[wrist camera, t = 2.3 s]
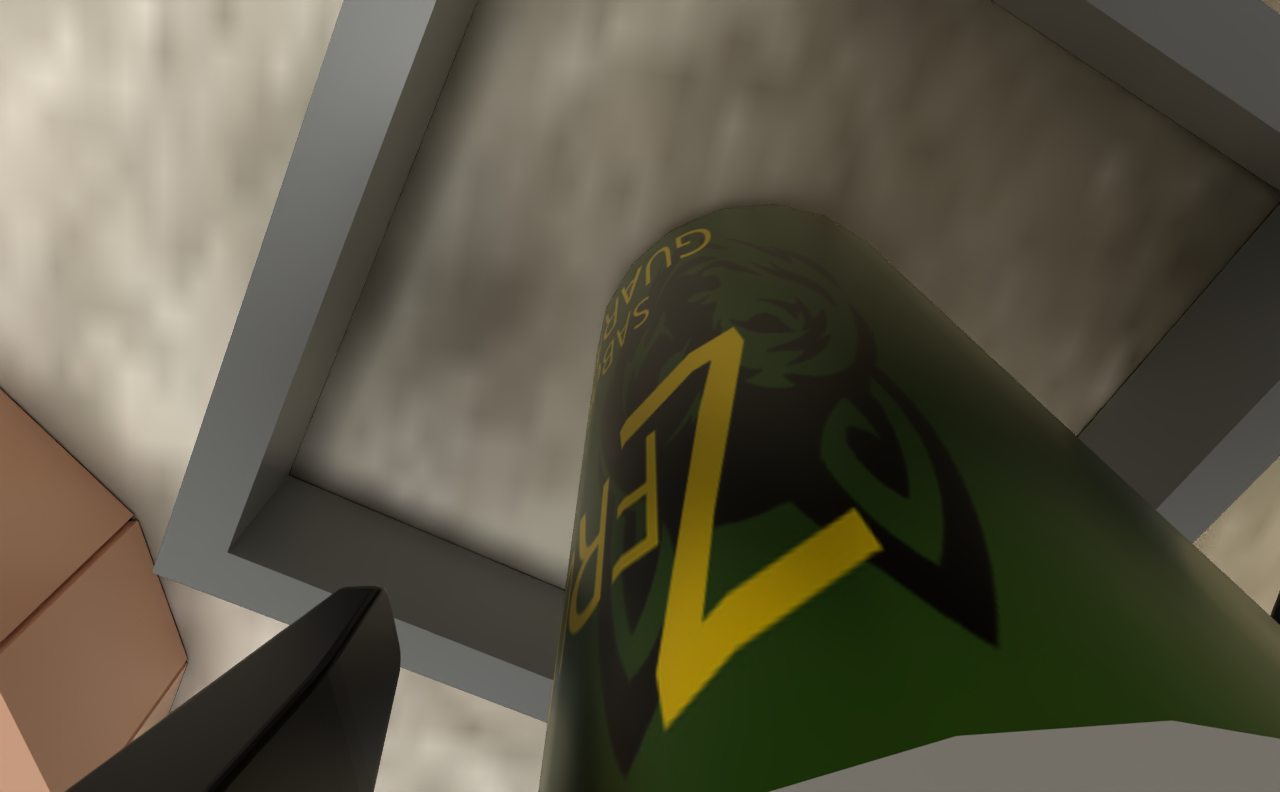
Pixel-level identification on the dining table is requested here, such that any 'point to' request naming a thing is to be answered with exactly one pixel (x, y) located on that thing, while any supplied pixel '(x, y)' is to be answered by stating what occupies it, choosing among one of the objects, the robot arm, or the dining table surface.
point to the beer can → (871, 556)
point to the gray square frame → (532, 610)
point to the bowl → (73, 617)
